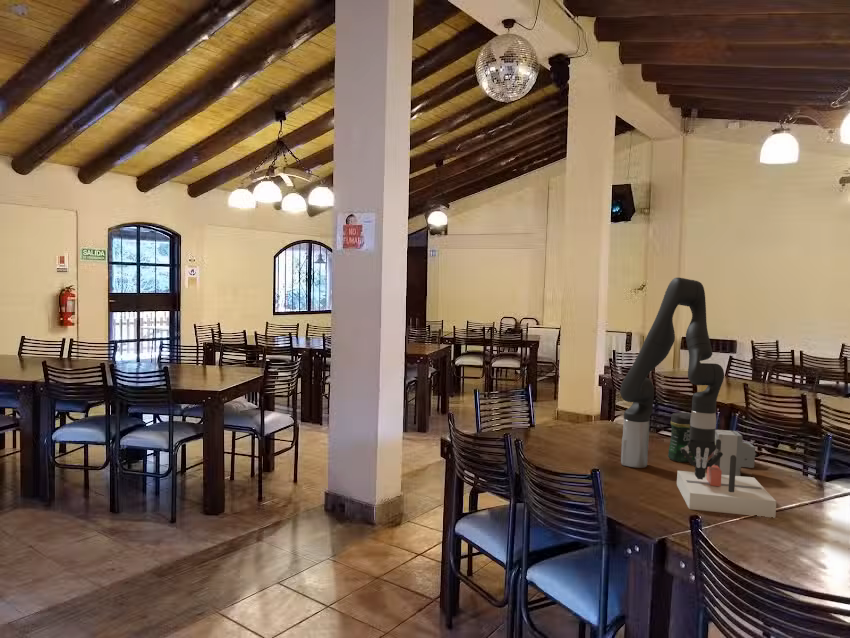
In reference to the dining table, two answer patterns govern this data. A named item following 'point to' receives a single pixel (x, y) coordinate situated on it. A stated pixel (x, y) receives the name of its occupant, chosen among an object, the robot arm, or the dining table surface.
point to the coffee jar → (680, 436)
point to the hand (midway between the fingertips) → (699, 478)
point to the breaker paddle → (714, 475)
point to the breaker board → (726, 495)
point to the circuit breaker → (735, 451)
